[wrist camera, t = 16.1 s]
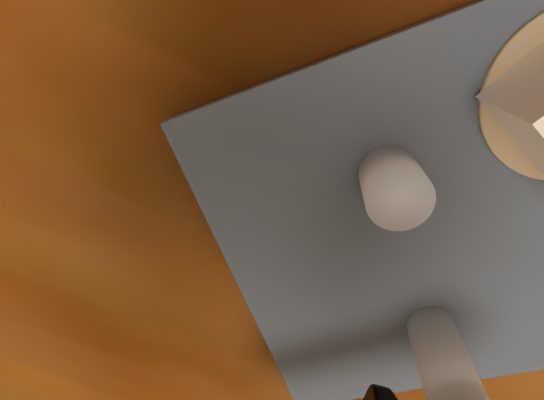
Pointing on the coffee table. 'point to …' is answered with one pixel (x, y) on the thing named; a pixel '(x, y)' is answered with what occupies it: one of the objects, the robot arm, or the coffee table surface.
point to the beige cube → (521, 104)
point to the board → (327, 224)
